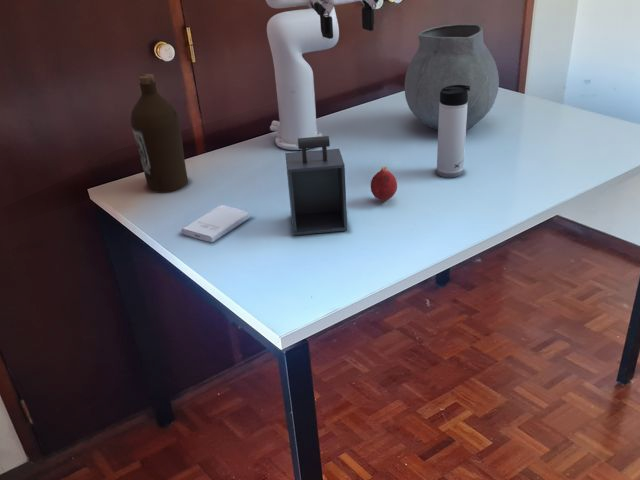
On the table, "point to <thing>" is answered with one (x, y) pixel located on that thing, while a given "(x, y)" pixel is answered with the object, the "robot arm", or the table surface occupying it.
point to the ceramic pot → (451, 72)
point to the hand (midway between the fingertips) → (348, 33)
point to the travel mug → (452, 130)
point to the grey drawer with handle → (316, 187)
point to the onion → (383, 185)
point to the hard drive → (216, 223)
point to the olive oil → (158, 139)
